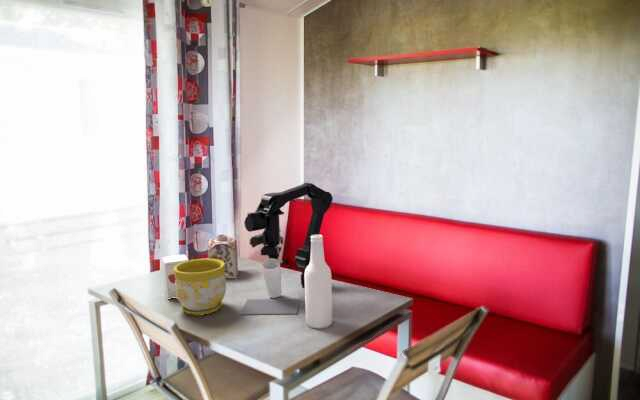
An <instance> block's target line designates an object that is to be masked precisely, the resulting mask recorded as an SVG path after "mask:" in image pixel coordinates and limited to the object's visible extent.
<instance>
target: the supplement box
mask: <svg viewBox="0 0 640 400" xmlns="http://www.w3.org/2000/svg"><path fill="white" fill-rule="evenodd" d="M161 260H162V272H163V273H162V274H163V287H164V288H163V290H164V294H166V295H165V296H167V297H166V299H167V298H172V297H177V296H176V291H175V281H176V278H175V274H176V273H174V270H173V269H174V267H175V266H176V265H178V264H180V263H182V262H185V261H189V259H188V256H186V254H184V253H183V254H178V255H177V254H176V255H170V256H169V255H168V256H163V257H162V258H161Z"/></svg>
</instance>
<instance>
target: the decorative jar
mask: <svg viewBox="0 0 640 400" xmlns="http://www.w3.org/2000/svg"><path fill="white" fill-rule="evenodd" d="M237 248H238V247H237V240H236V239H235V238H233V237H230V236H228V235H227V234H223V233H222V234H217V235H216V237H215V238H211V239H209V241H208V246H207V252H208V254H207V255H208V257H207V259H217V260H221V261H223V262H224V263H225V268H224V270H225V272H224V275H225V278H229V277H237V278H238V272H239V265H238V250H237ZM229 279H230V278H229Z"/></svg>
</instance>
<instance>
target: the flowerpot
mask: <svg viewBox="0 0 640 400" xmlns="http://www.w3.org/2000/svg"><path fill="white" fill-rule="evenodd" d="M224 268H225V263H224V262H223V261H221V260H217V259H209V258H198V259H196V258H195V259H190V260H189V259H188V261H185V262H182V263H180V264H178V265H176V266H175V267H174V269H173V270H174V273H176V274H175V278H176V281H175V291H176V296H177V298H176V299H177V301H178V302H179V303H180V305H181V310H182V311H183V312H185V313H186V314H187V313H189V314H195V315H194V316H202V315H201V314H207V315H210V314H209V313H211V314H213V313H212V312H214V313H215V311H216V312H218V311H219V310H220V308H221V307H222V306H223V302H222V301H223V300H224V298H225V295H226V291H227V281H226V280H227V279H225V275H224V272H225V270H224ZM218 309H219V310H218ZM189 314H188V315H189Z"/></svg>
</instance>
